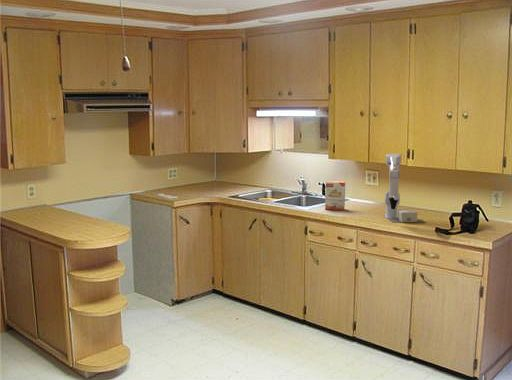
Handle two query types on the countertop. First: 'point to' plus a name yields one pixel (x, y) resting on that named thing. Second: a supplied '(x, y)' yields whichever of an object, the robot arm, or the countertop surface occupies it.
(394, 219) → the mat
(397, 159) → the robot arm
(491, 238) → the countertop surface
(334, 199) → the cracker box
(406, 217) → the light bulb box
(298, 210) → the countertop surface
